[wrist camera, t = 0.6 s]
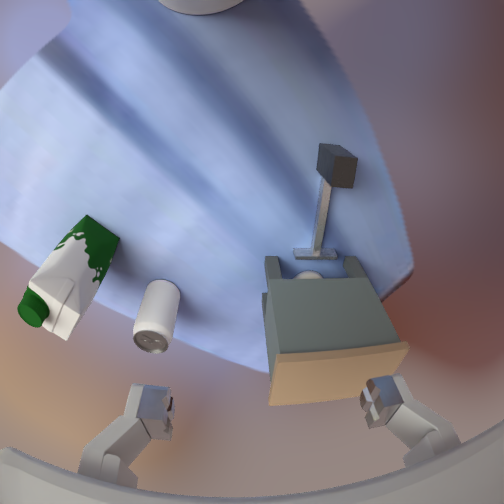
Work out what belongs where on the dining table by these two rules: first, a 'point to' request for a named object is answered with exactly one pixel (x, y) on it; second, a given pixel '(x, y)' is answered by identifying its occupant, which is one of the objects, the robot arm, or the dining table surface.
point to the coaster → (308, 275)
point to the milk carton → (69, 279)
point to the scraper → (328, 195)
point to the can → (157, 316)
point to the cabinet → (325, 335)
